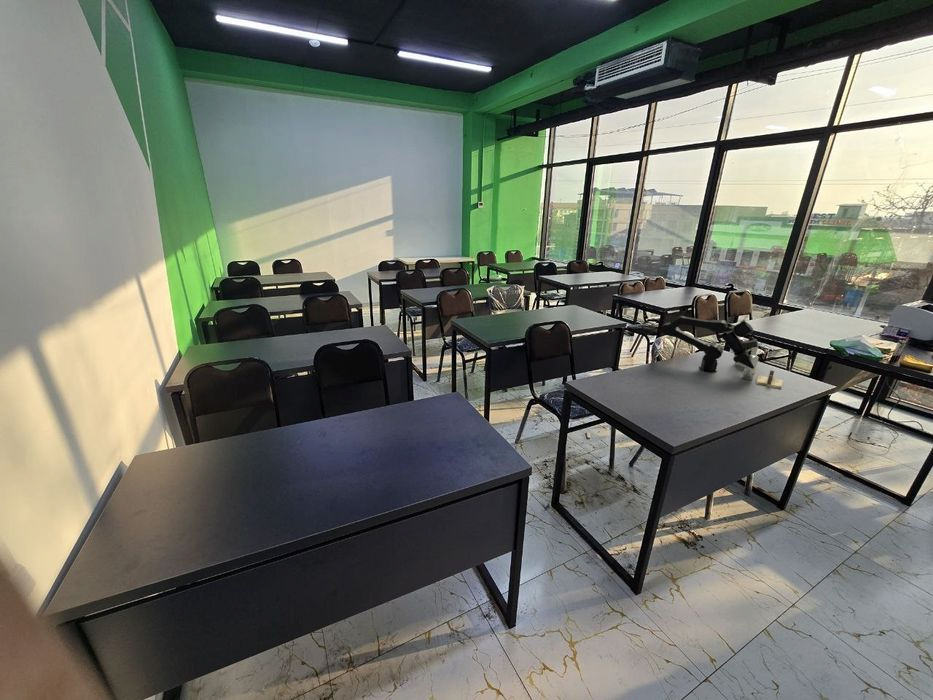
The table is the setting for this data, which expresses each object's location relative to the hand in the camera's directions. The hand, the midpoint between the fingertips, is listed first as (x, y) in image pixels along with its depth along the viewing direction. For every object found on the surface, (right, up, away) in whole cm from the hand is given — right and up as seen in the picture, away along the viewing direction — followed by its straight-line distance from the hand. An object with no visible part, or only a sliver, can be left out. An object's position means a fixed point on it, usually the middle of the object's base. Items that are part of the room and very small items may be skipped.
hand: (753, 366), depth 200 cm
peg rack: (+6, -8, -2) cm, 10 cm away
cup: (+10, 0, +21) cm, 23 cm away
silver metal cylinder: (-1, -6, +3) cm, 7 cm away
